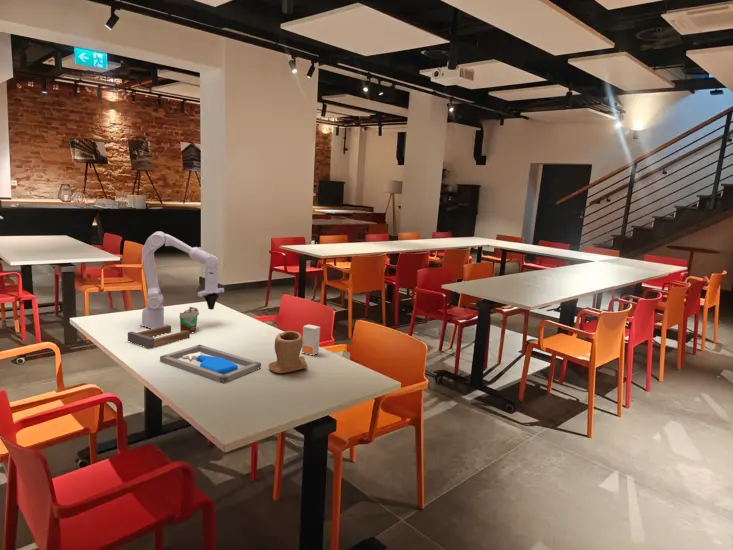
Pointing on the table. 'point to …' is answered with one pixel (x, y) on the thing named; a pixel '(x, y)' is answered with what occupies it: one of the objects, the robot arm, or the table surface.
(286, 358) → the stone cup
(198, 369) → the rim
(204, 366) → the spray bottle
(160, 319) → the robot arm
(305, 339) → the skincare box
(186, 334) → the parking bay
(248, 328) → the table surface
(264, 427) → the table surface
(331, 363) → the table surface
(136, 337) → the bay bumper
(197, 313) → the food container
